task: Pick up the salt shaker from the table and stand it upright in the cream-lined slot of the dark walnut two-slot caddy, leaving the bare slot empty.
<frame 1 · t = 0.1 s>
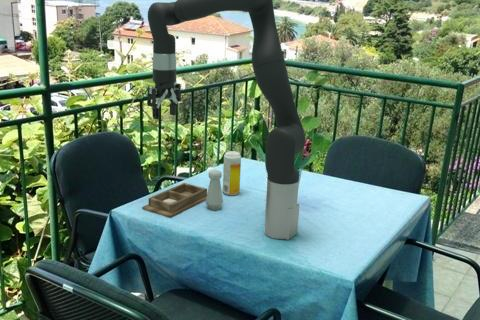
hand: (164, 117, 169), 29 cm above the table, tool pointing down, fingers open, 8 cm apart
salt shaker: (214, 208, 173), on the table
slot caddy: (178, 202, 175), on the table
white yellow canister: (231, 193, 186), on the table
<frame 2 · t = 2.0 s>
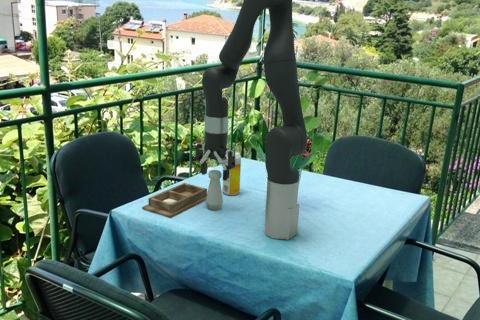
hand: (214, 176, 170), 11 cm above the table, tool pointing down, fingers open, 8 cm apart
nothing on the table moved.
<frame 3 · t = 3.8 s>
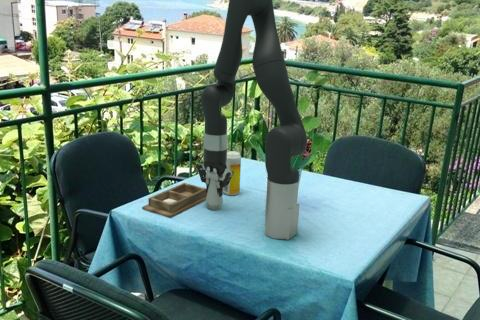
hand: (214, 196, 171), 4 cm above the table, tool pointing down, fingers closed on salt shaker, 3 cm apart
salt shaker: (214, 208, 173), on the table, touching gripper
everything else where it was.
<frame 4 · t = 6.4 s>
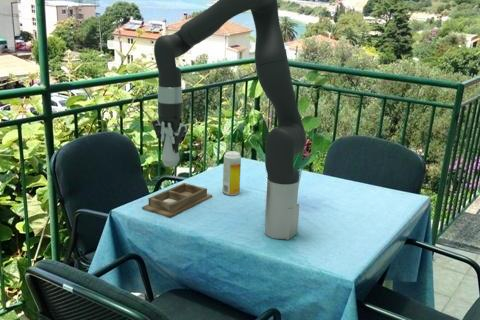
hand: (170, 152, 166), 19 cm above the table, tool pointing down, fingers closed on salt shaker, 3 cm apart
salt shaker: (170, 165, 167), point 14 cm above the table, touching gripper
everything else where it was.
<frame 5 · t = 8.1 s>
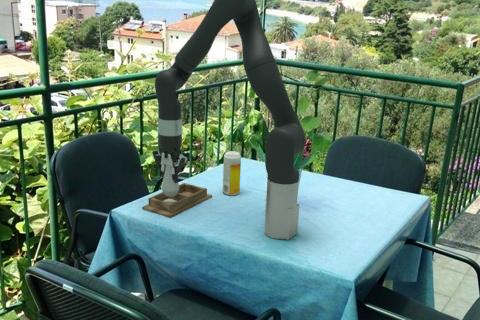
hand: (170, 182, 169), 9 cm above the table, tool pointing down, fingers closed on salt shaker, 3 cm apart
salt shaker: (170, 195, 170), point 4 cm above the table, touching gripper
everything else where it was.
when the fingers open (7 cm above the table, at t = 9.3 s): salt shaker drops 1 cm, resting on slot caddy.
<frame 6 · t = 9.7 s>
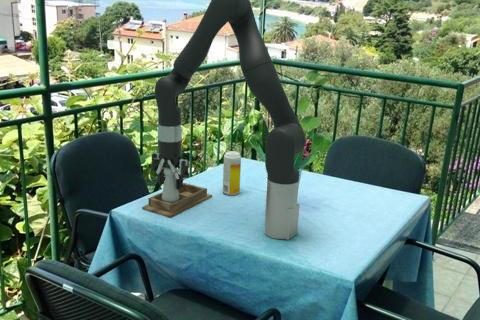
hand: (170, 186, 169), 7 cm above the table, tool pointing down, fingers open, 7 cm apart
salt shaker: (170, 204, 171), point 1 cm above the table, touching slot caddy
everything else where it was.
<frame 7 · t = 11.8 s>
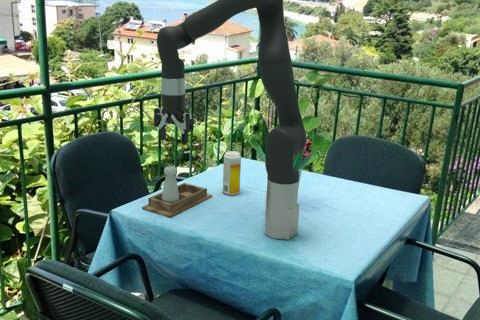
hand: (173, 142, 165), 22 cm above the table, tool pointing down, fingers open, 8 cm apart
nothing on the table moved.
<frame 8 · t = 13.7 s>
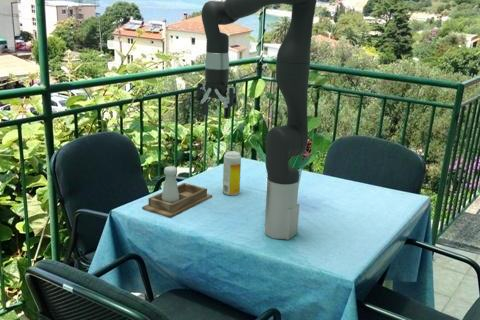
hand: (215, 116, 168), 30 cm above the table, tool pointing down, fingers open, 8 cm apart
nothing on the table moved.
at the end: salt shaker 0.2 cm from the target spot on the slot caddy, point 0.8 cm above the slot caddy's base; salt shaker tilted 0°; the gripper is holding nothing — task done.
